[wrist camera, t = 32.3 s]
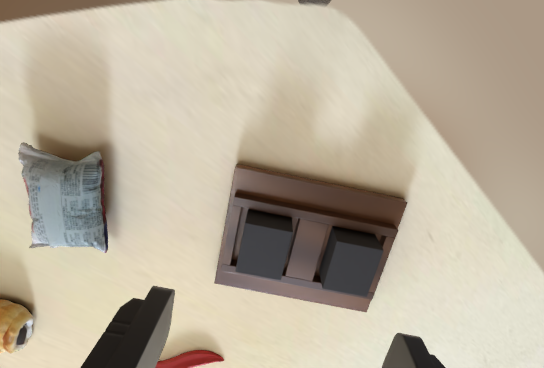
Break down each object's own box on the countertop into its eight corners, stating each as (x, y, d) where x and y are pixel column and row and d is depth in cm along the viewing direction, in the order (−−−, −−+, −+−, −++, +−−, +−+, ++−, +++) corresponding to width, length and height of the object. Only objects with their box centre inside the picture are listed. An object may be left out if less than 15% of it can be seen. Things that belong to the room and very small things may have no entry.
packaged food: (44, 235, 41) (15, 257, 36) (32, 138, 37) (-3, 149, 32) (117, 243, 41) (97, 266, 37) (113, 147, 37) (90, 160, 33)
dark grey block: (332, 225, 38) (336, 241, 35) (375, 234, 38) (384, 250, 35) (318, 270, 40) (322, 288, 37) (360, 278, 40) (366, 297, 37)
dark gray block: (248, 208, 38) (244, 222, 34) (292, 217, 38) (293, 232, 35) (238, 254, 40) (235, 272, 36) (280, 262, 40) (280, 280, 37)
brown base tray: (236, 163, 37) (233, 170, 35) (403, 198, 38) (411, 207, 36) (216, 277, 42) (212, 290, 40) (364, 305, 43) (368, 320, 41)
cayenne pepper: (138, 370, 48) (132, 382, 46) (136, 344, 46) (130, 356, 45) (223, 377, 48) (221, 389, 46) (224, 351, 46) (222, 363, 45)
